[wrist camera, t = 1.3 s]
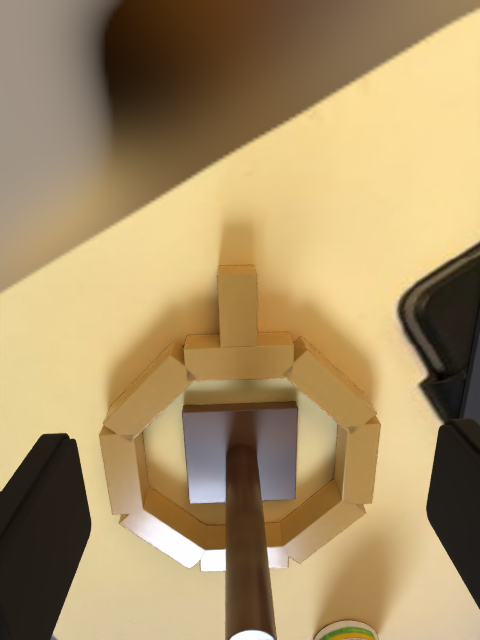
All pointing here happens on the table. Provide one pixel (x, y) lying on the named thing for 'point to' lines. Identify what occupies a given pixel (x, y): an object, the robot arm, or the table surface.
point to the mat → (473, 381)
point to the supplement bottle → (347, 631)
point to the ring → (236, 364)
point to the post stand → (243, 496)
